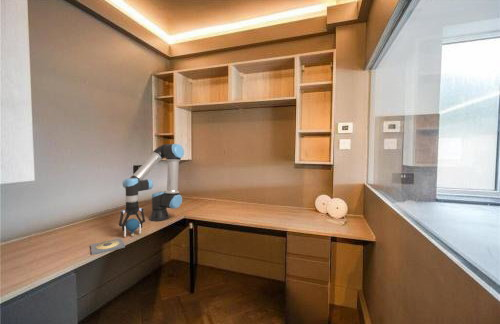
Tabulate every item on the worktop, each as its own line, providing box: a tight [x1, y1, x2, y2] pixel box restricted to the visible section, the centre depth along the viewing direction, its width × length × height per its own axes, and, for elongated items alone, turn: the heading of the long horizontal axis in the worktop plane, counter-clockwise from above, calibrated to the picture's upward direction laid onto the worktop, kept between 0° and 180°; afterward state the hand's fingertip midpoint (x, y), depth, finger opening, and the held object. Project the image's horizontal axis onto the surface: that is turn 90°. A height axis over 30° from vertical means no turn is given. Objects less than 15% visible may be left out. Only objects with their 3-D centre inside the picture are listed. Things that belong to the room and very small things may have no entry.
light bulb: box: [125, 218, 140, 237], centre depth 145 cm, size 8×8×12 cm
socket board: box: [90, 237, 126, 256], centre depth 129 cm, size 16×15×2 cm
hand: (132, 234), depth 145 cm, fingers closed on light bulb, 8 cm apart
